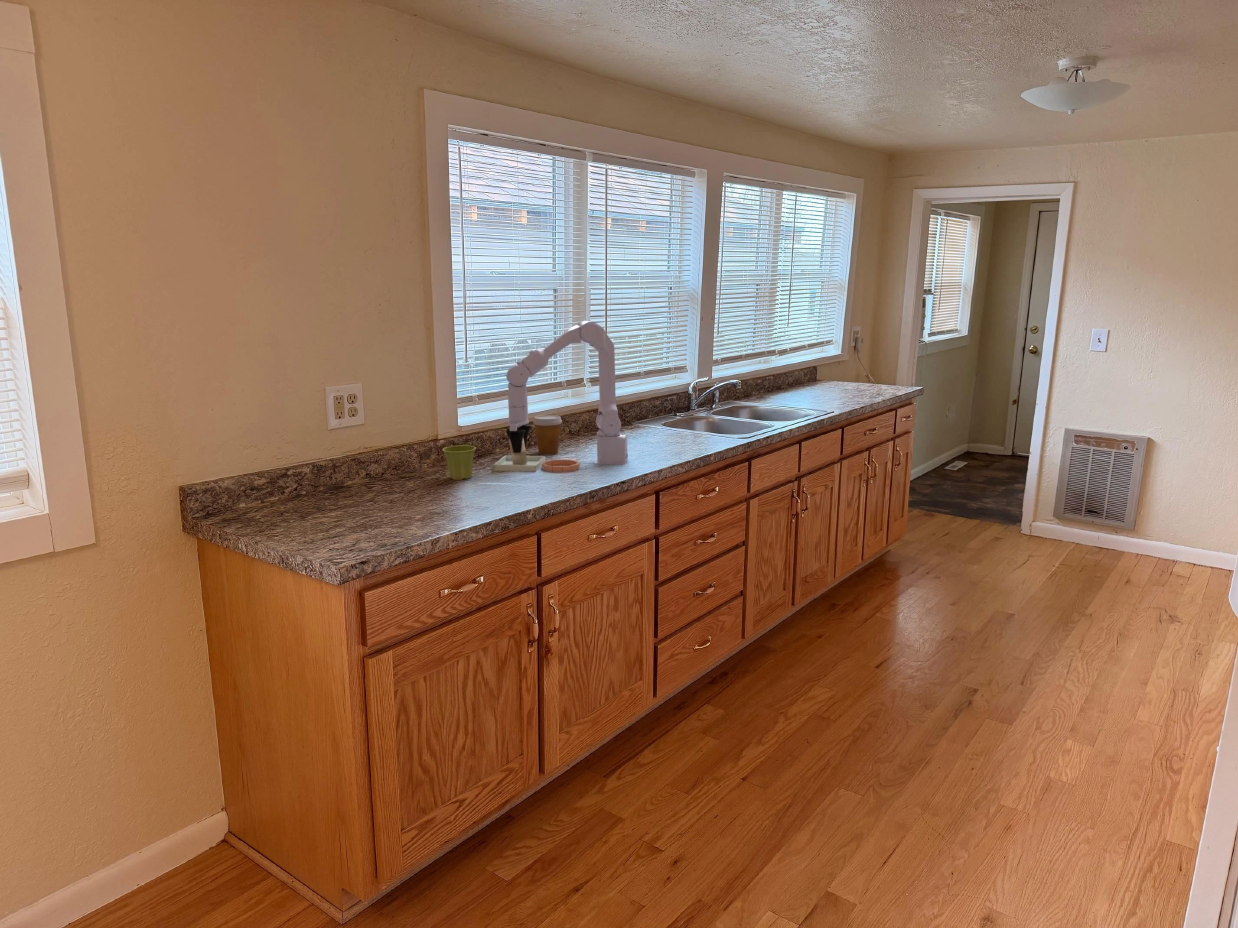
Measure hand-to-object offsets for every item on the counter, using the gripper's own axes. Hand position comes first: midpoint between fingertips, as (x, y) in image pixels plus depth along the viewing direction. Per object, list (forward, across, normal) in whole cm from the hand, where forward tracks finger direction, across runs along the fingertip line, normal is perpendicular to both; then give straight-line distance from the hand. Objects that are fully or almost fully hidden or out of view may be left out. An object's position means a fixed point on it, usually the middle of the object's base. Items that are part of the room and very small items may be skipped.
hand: (519, 450), depth 258 cm
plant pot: (+5, +15, -14) cm, 21 cm away
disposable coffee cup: (+5, -23, +4) cm, 24 cm away
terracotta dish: (+5, +2, +13) cm, 14 cm away
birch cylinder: (+4, 0, 0) cm, 4 cm away
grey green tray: (+5, 0, 0) cm, 5 cm away
